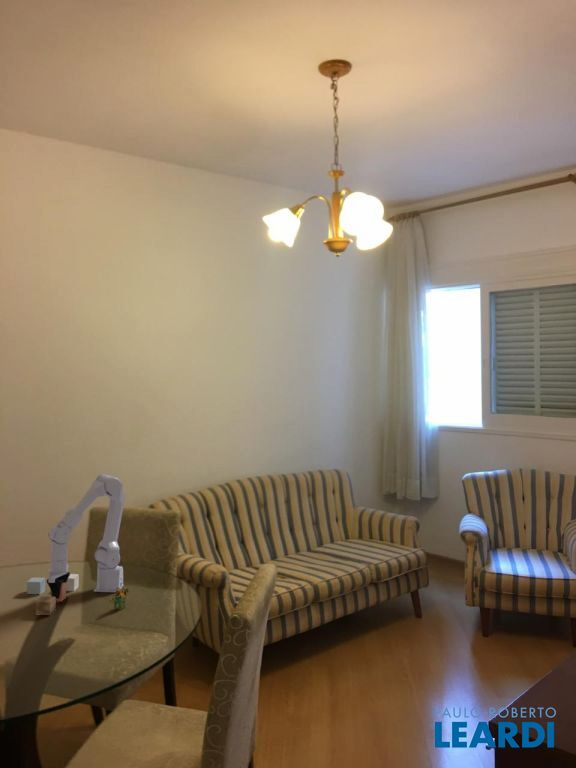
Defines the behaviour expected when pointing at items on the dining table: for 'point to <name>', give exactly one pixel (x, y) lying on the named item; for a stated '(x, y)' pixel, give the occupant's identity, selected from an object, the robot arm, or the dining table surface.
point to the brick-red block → (62, 592)
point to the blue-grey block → (36, 585)
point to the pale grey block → (72, 582)
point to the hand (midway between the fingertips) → (58, 595)
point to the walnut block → (45, 605)
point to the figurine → (120, 597)
